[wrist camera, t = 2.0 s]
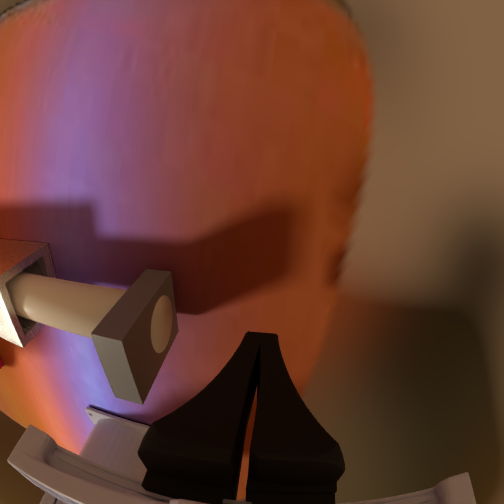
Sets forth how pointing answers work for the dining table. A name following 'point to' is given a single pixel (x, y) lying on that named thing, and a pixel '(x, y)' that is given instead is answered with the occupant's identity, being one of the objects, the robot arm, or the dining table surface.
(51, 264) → the sleeve
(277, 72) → the dining table surface
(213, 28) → the dining table surface
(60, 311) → the tube
